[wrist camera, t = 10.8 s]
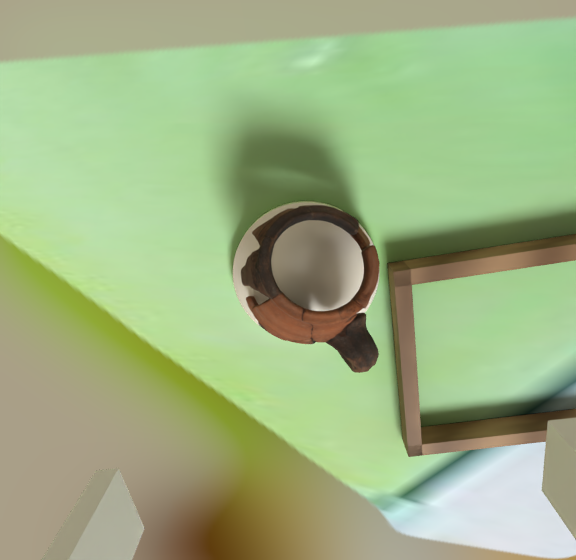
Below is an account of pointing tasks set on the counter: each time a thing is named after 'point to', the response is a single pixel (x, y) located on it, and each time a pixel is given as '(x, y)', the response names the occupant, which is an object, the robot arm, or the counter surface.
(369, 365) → the brown hollow round piece
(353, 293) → the white dome
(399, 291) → the walnut frame
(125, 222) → the counter surface
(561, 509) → the robot arm
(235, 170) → the counter surface
